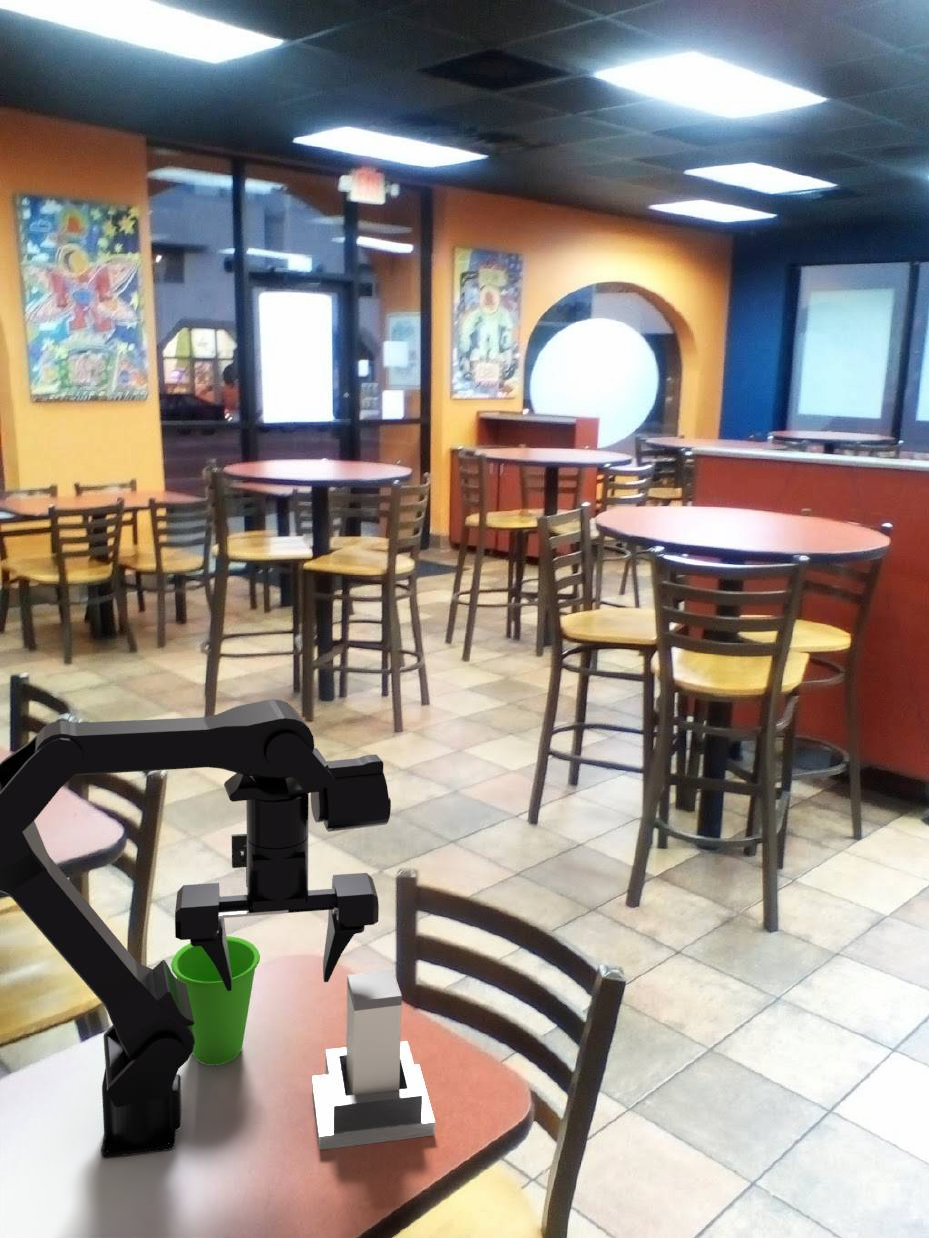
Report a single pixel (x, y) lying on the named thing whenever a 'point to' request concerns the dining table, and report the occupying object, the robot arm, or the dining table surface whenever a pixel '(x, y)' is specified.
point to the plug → (373, 1032)
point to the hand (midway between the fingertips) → (278, 984)
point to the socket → (370, 1106)
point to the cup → (217, 998)
